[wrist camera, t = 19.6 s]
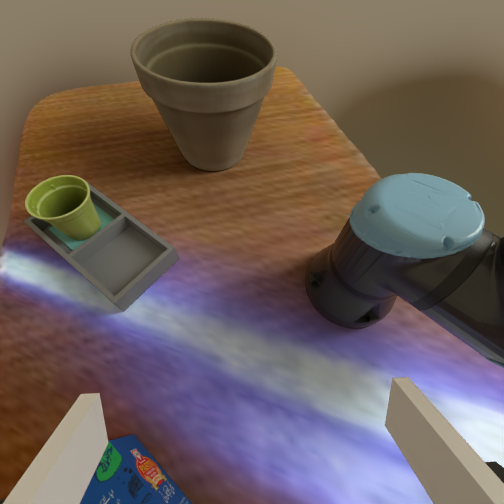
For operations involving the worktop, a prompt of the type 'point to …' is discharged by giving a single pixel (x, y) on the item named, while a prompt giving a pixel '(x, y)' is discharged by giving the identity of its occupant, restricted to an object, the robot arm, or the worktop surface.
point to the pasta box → (131, 477)
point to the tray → (113, 252)
